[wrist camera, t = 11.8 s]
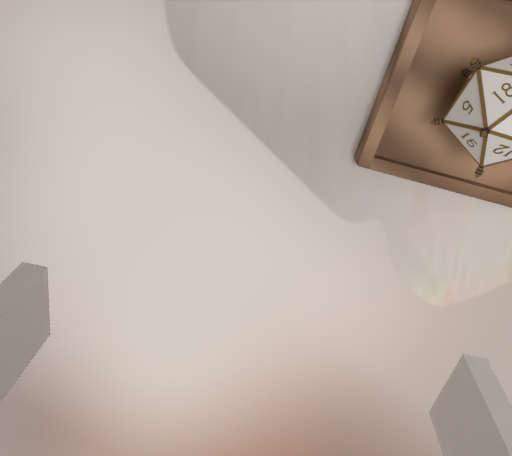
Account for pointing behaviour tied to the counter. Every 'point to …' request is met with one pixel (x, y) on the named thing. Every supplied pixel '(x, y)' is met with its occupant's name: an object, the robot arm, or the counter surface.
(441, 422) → the robot arm
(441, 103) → the walnut tray
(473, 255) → the counter surface
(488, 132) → the game die
